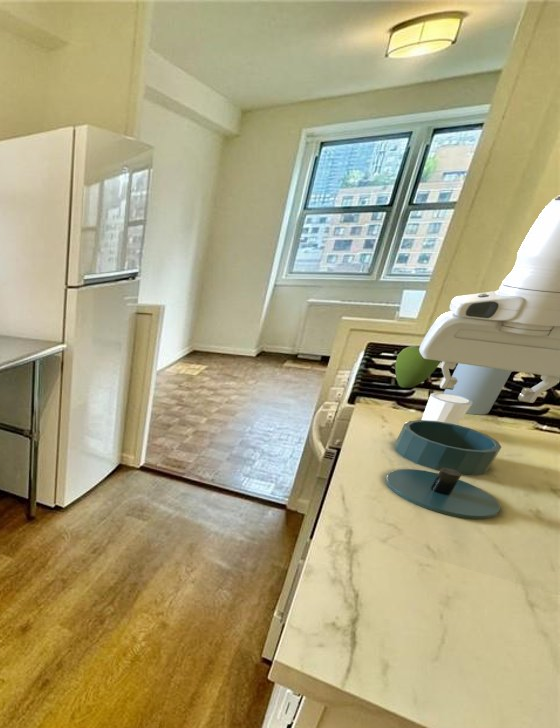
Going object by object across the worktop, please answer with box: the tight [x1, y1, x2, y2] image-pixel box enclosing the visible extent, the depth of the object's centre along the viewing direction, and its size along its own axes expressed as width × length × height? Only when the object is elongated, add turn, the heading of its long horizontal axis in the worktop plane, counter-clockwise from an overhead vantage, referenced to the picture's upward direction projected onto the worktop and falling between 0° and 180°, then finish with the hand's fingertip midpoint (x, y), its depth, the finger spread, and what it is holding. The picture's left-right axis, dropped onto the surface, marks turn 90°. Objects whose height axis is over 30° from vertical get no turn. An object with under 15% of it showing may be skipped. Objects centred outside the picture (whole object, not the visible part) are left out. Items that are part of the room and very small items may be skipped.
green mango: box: [394, 345, 442, 389], centre depth 126 cm, size 9×8×12 cm
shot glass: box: [421, 392, 472, 425], centre depth 106 cm, size 7×7×7 cm
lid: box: [385, 468, 501, 520], centre depth 82 cm, size 15×15×5 cm
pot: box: [393, 419, 502, 476], centre depth 93 cm, size 14×14×5 cm
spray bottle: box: [443, 363, 513, 416], centre depth 111 cm, size 9×9×25 cm
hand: (484, 394), depth 78 cm, fingers open, 8 cm apart
